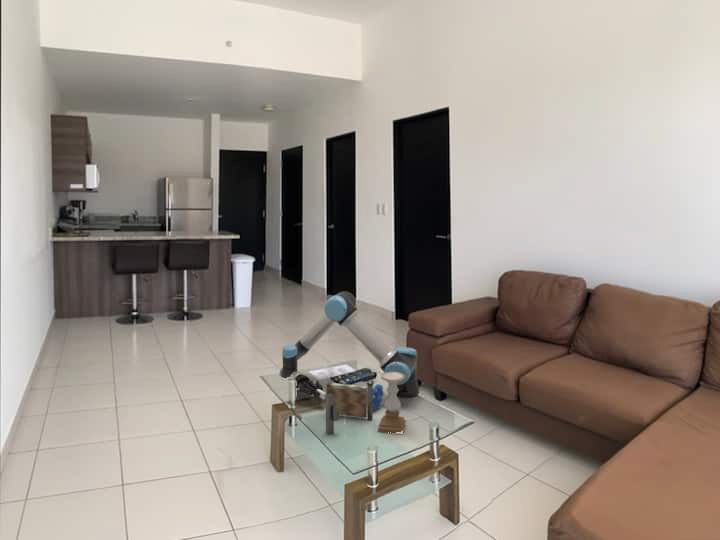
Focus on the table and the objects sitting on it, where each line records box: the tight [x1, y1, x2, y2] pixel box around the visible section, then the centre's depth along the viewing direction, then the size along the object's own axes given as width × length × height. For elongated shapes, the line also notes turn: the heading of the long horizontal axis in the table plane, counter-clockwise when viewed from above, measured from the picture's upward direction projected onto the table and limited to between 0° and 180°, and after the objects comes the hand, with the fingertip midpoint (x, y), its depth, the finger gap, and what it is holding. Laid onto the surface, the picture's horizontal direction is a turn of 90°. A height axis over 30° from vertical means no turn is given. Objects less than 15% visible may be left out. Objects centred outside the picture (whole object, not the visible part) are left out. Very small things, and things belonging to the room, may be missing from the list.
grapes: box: [373, 383, 385, 412], centre depth 248 cm, size 12×7×12 cm, turn 151°
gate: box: [326, 382, 368, 419], centre depth 238 cm, size 18×2×14 cm, turn 77°
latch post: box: [325, 393, 340, 435], centre depth 223 cm, size 4×4×17 cm
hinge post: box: [366, 380, 375, 422], centre depth 236 cm, size 3×3×18 cm
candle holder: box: [377, 372, 407, 434], centre depth 228 cm, size 11×11×24 cm
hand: (325, 396), depth 245 cm, fingers closed
